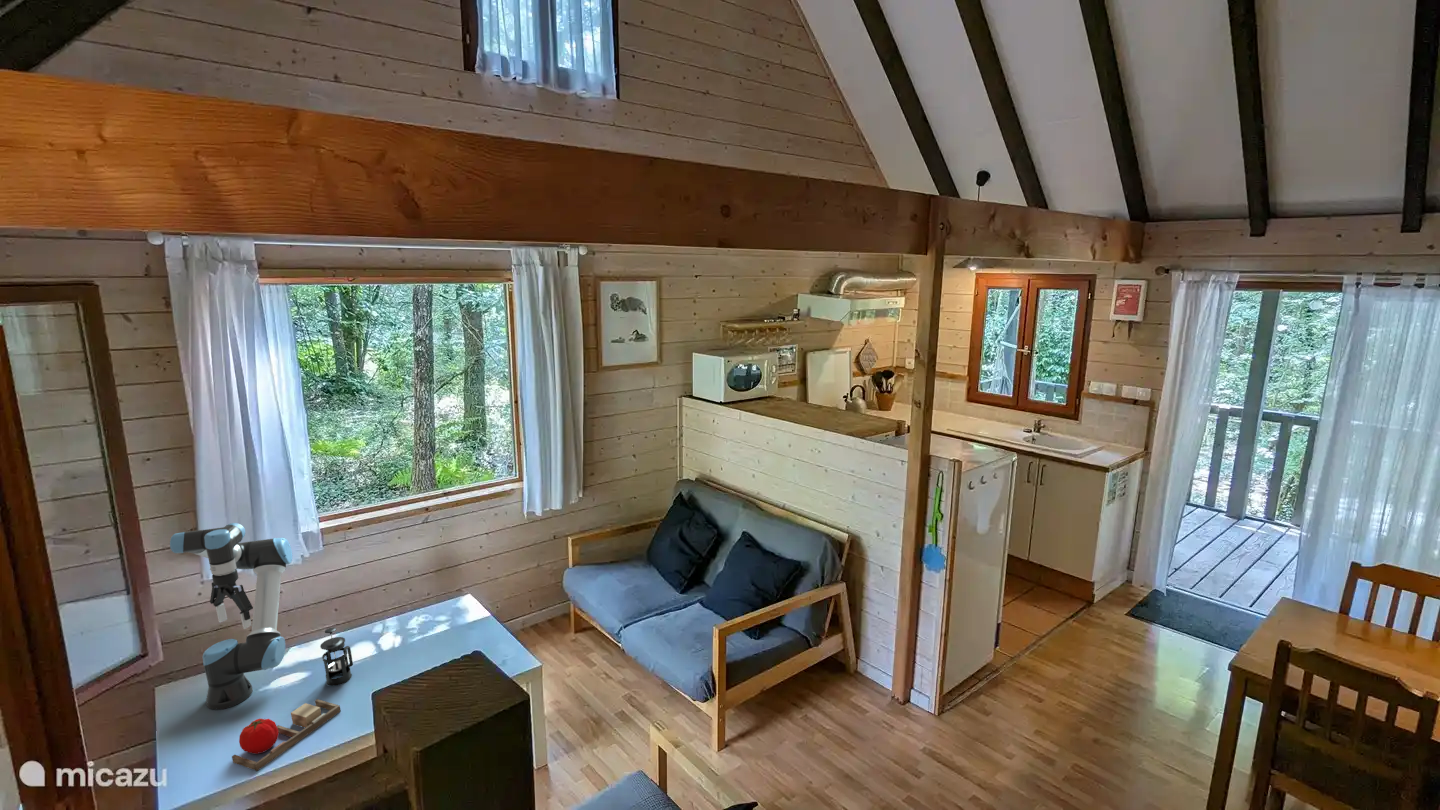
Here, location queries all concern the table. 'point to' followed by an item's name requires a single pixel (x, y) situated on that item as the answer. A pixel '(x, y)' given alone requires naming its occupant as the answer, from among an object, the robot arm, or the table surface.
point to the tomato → (258, 736)
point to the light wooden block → (305, 715)
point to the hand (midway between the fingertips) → (235, 624)
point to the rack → (290, 733)
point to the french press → (336, 660)
